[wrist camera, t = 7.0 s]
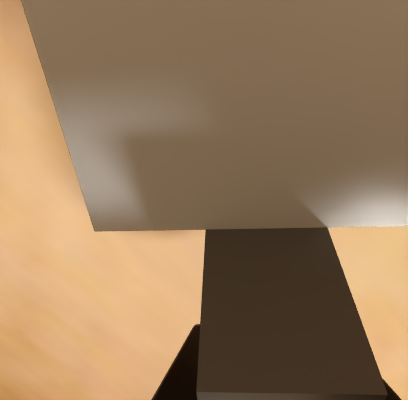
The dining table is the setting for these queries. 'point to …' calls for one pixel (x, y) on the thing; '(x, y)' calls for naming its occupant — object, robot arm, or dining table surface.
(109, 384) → the dining table surface
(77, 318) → the dining table surface
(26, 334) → the dining table surface
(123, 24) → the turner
